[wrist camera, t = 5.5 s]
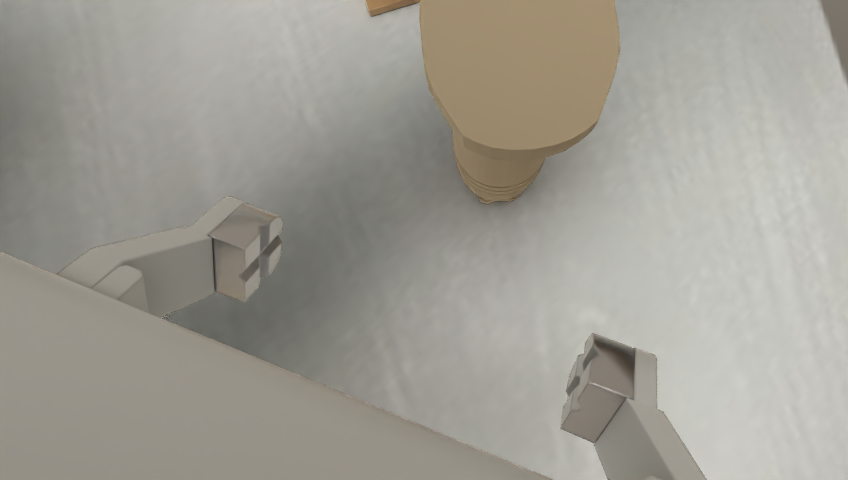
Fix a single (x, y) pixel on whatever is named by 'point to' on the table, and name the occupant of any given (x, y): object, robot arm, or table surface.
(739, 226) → the table surface
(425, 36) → the handle
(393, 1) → the board
